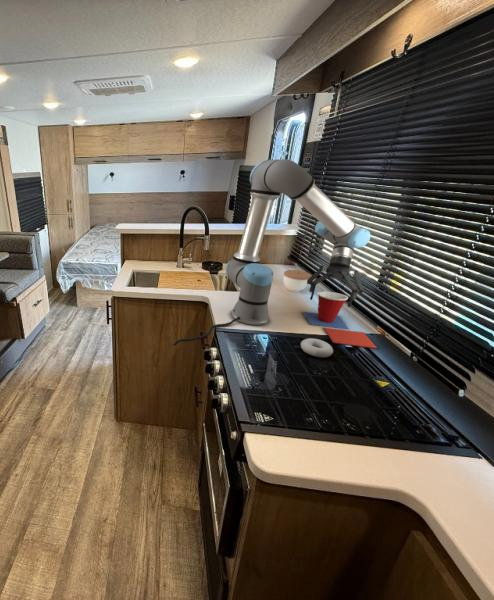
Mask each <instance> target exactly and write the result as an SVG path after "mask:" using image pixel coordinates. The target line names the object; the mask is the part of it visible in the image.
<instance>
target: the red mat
mask: <svg viewBox="0 0 494 600" xmlns="http://www.w3.org/2000/svg"><path fill="white" fill-rule="evenodd" d="M323 330H324V331H325V333H326V334H327V336H328V337H329V339H330V340H331V342H332V343H333V344H336V345H337V344H338V345H344V346H345V345H346V346H352V347H361V348H367V349H374V350H377V349H378V347H377V346H376V345H375V344H374V343H373V341H372V340H371V339H370V338H369V337H368V336H367V335H366V333H365V332H362V331H354V330H348V329H340V328H332V327H324V328H323Z"/></svg>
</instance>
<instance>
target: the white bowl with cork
mask: <svg viewBox="0 0 494 600" xmlns="http://www.w3.org/2000/svg"><path fill="white" fill-rule="evenodd" d="M311 276H312V274H311V273H309V272H306V271H302V270H299V269H288V270H285V271H284V272H283V278H282V284H283V286H284V287H285V289H286V290H287V291H289V292H294V293H299V292H302V291H303V290H304V289H306V288H307V287H308V285H309V284H307V280H308V279H309V278H310V277H311Z"/></svg>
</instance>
